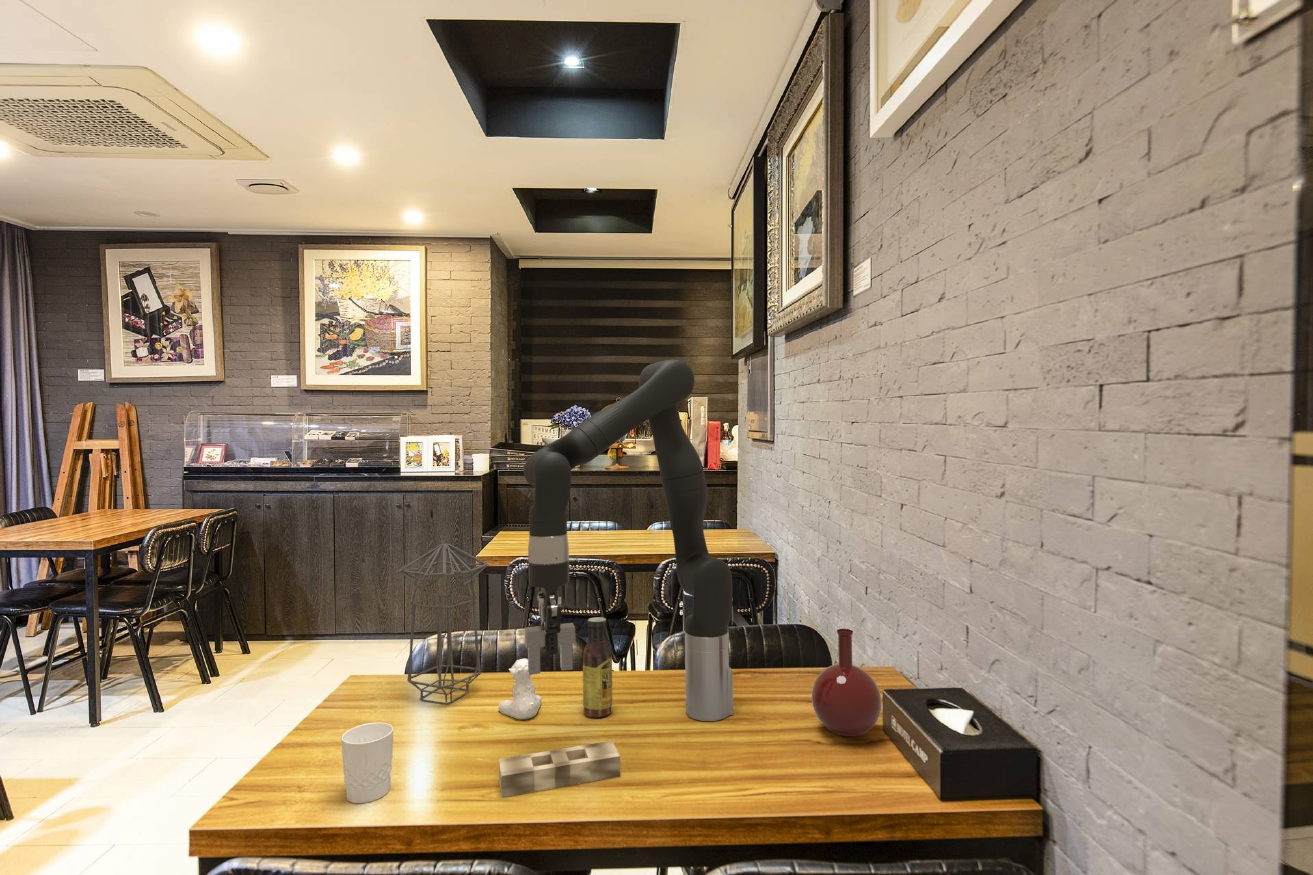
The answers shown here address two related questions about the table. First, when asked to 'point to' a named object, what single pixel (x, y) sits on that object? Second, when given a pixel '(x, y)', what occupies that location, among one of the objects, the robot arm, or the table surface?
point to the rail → (558, 768)
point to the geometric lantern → (405, 572)
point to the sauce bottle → (597, 671)
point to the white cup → (367, 761)
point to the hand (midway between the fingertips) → (550, 650)
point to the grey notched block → (537, 640)
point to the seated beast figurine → (521, 694)
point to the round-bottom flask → (846, 694)
